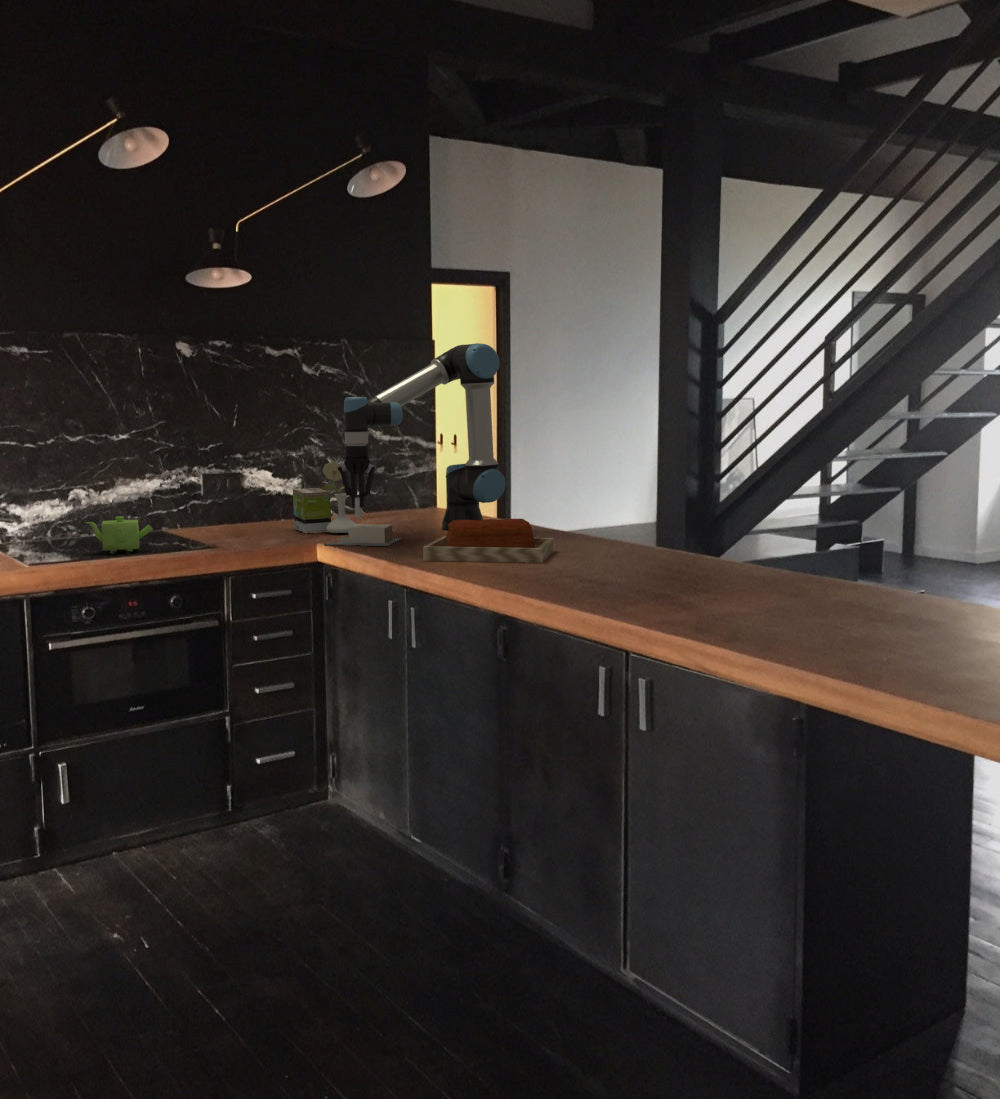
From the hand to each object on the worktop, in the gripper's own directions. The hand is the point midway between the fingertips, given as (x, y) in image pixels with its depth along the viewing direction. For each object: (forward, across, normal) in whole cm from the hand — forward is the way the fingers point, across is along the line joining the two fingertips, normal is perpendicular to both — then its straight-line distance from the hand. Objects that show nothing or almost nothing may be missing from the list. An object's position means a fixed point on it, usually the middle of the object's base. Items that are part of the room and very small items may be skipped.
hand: (358, 517), depth 372 cm
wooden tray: (+8, -48, +23) cm, 54 cm away
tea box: (+9, +27, -29) cm, 40 cm away
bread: (+8, -48, +23) cm, 54 cm away
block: (+5, +2, 0) cm, 6 cm away
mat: (+8, -1, 0) cm, 9 cm away
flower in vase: (+9, +15, -24) cm, 29 cm away
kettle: (+9, +69, +29) cm, 75 cm away
